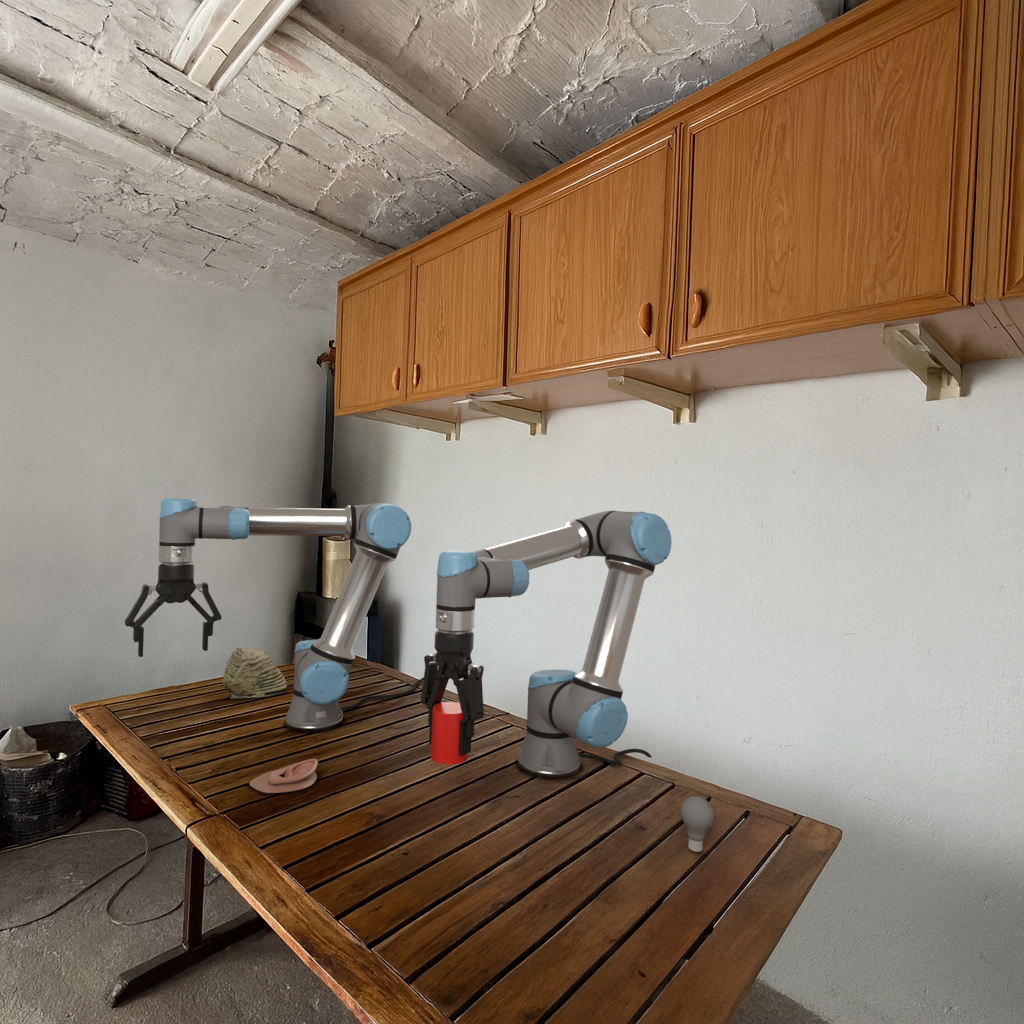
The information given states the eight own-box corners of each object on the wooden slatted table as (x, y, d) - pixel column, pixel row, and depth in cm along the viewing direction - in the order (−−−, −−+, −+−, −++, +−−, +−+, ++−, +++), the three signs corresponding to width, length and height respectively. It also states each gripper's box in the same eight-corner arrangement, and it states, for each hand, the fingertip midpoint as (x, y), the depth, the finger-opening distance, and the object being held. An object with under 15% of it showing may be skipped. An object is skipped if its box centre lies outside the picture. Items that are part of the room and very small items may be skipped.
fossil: (218, 695, 195) (220, 647, 195) (278, 685, 208) (279, 640, 207) (228, 703, 189) (230, 653, 188) (289, 692, 201) (290, 645, 201)
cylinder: (461, 748, 128) (463, 700, 127) (471, 762, 121) (473, 712, 121) (427, 751, 125) (429, 703, 125) (435, 766, 118) (437, 715, 118)
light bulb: (674, 841, 122) (676, 790, 121) (704, 841, 122) (707, 790, 122) (685, 859, 116) (688, 805, 115) (717, 859, 116) (719, 805, 116)
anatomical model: (241, 770, 135) (272, 750, 146) (240, 789, 135) (271, 767, 146) (297, 779, 132) (324, 757, 144) (297, 798, 132) (324, 775, 144)
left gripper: (115, 566, 140) (112, 662, 140) (236, 563, 154) (233, 650, 154) (113, 562, 146) (110, 654, 146) (229, 560, 160) (226, 644, 161)
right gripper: (404, 624, 126) (400, 739, 126) (481, 642, 114) (475, 768, 114) (431, 620, 132) (427, 729, 132) (507, 636, 119) (501, 756, 120)
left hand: (173, 652), depth 150 cm, fingers open, 13 cm apart
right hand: (449, 747), depth 123 cm, fingers closed on cylinder, 7 cm apart
